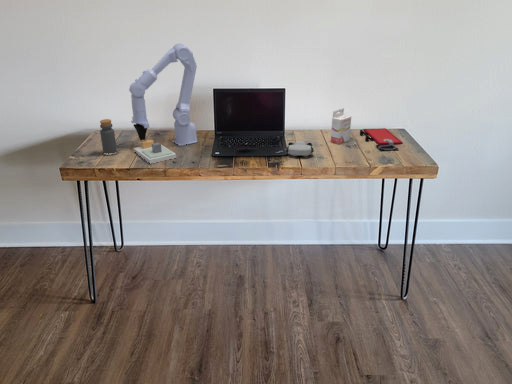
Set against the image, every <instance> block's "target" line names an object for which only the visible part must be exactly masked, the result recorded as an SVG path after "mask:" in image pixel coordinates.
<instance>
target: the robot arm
mask: <svg viewBox="0 0 512 384" xmlns="http://www.w3.org/2000/svg"><path fill="white" fill-rule="evenodd" d="M178 62H180V63H181V65H182V66H183V67H184V69H183V70H184V71H183V75H182V81H181V86H180V92H179V96H178V102H177V103H176V106H175V109H174V110H173V112H172V117H173V119H174V120H175V121H174V122H173V125H174V136H175V138H174V140H172V141H173V143H174V142H175V143H176V145H177V144H178V145H177V146H179V147H181V145H182V146H186V144H187V145H191V144H194V143H198V137H197V128H196V125H195V123H194V122H192V121H191V115H190V113H191V107H190V104H191V103H190V102H191V99H192V94H193V93H192V92H193V88H194V84H195V83H194V82H195V76H196V72H197V62H196V60H195V57H194V54H193V51H192V50H190V48H188V46H186V45H184V44H183V43H176V44H174V45H173V47H171V48H170V49H168V51H167V52H166V53H165V54H164V55H163V57H162V58H161V59H160V60H159V61H158V62H157V63H156V64H155V65H154V66H153V67H152V68H151V69H146V70H143V71H142V74H141V75H140V76H139V77H138V79H137V78H136V79H135V80H134V82H132V83H131V84H130V85H129V88H128V91H129V92H130V93H131V96H130V98H131V108H132V117H131V118H132V120H131V121H130V122H131V123H132V124H133V127H134V129H135V131H136V132H137V136H138V139H139V140H140V141H146V135H147V130H148V128H150V123H149V122H148V119H147V116H148V115H147V107H146V100H145V93H146V91H147V90H148V89H149V88H150V87H151V86H152V85H153V84H154V83H155V82H156V81H157V80H158V75H159V74H160V73H161V72H162V71H163V70H164V69H165V68H167V66H169V64H171V63H172V64H173V63H178ZM175 143H174V144H175Z"/></svg>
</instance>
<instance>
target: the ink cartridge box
mask: <svg viewBox="0 0 512 384" xmlns="http://www.w3.org/2000/svg"><path fill="white" fill-rule="evenodd" d="M344 111H345V107H344V108H340V109H337V110H334V111H333V113H332V118H331V130H330V131H331V133H330V143H333V144H337V145H340V144H342V143H343V144H344V143H346V142H349V141H350V137H351V126H352V116H351V115H348V114H344Z"/></svg>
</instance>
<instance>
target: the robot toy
mask: <svg viewBox="0 0 512 384" xmlns="http://www.w3.org/2000/svg"><path fill="white" fill-rule="evenodd" d="M287 145H288V146H287V147H286V148H285V150H284V151H286V152H287V154H288V155H291V156H292V157H297V156H302V157H308V156H310V155H311V154H313V153H314V152H315V149H314V147H313V145H314V143H311V142H308V143H307V142H306V141H303V140H296V141H295V142H294V143H293V142H290V141H289V142H287Z"/></svg>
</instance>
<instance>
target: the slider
mask: <svg viewBox="0 0 512 384" xmlns="http://www.w3.org/2000/svg"><path fill="white" fill-rule="evenodd" d="M153 143H155V141H154V140H153V139H148V140H146V139H145V140H140V147H142V148H149V147H152V144H153Z"/></svg>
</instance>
